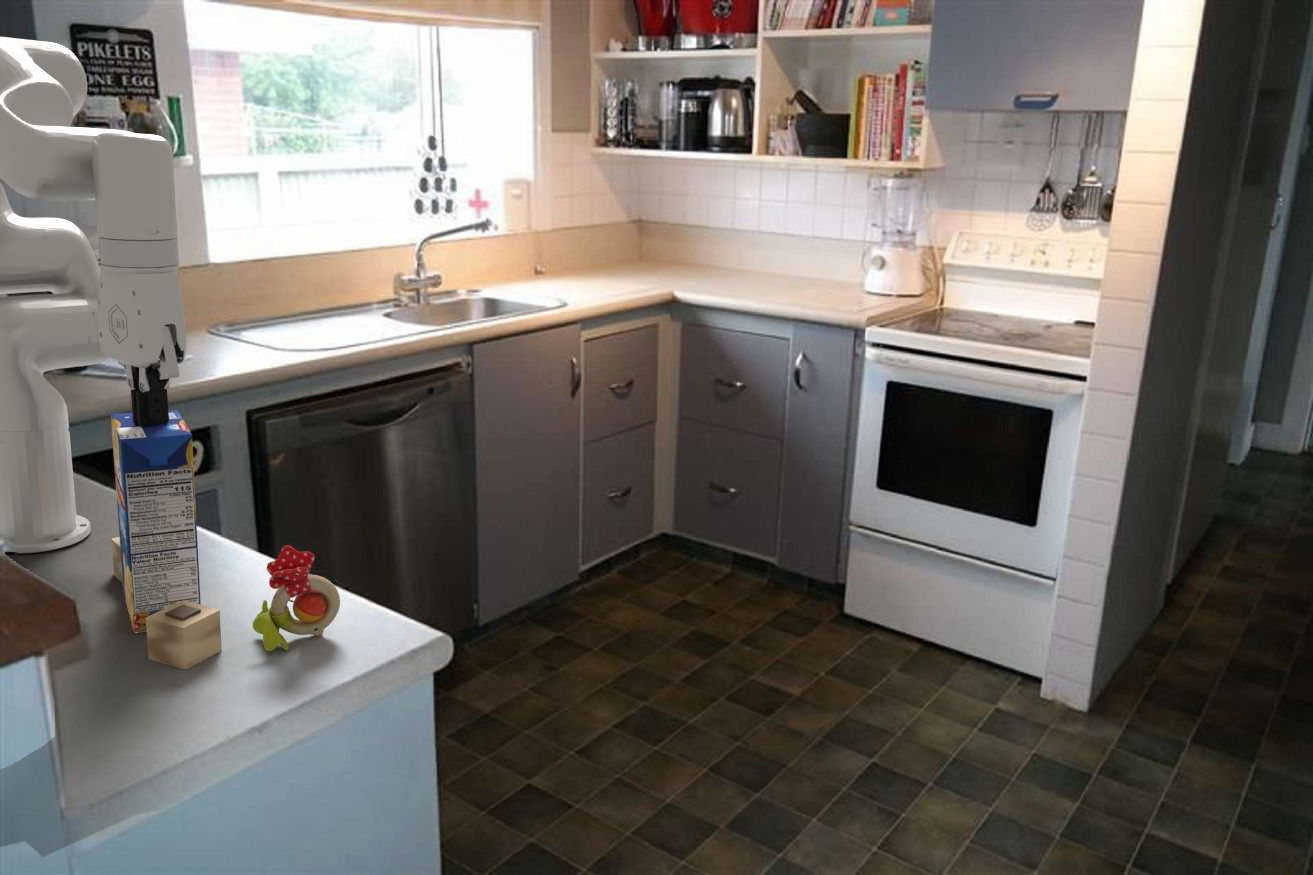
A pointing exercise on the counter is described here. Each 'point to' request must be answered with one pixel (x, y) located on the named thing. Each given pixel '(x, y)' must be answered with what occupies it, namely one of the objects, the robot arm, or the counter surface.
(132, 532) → the beverage box
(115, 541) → the marked oak block far
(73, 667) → the counter surface
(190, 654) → the marked oak block near
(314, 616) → the bird rattle
